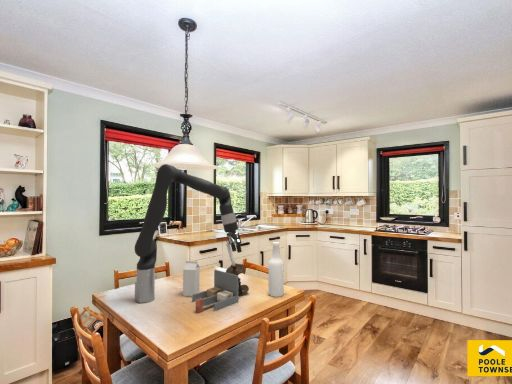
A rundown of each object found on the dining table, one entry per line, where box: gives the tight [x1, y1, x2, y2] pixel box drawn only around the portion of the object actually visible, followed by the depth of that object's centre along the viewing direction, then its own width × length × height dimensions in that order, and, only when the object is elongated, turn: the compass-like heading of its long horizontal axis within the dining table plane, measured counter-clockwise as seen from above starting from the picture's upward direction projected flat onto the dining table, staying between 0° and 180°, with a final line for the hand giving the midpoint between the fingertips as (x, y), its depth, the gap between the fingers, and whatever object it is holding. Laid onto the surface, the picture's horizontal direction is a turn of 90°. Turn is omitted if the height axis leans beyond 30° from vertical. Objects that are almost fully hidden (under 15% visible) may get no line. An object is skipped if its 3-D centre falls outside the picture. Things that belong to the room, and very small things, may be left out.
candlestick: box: [224, 236, 250, 297], centre depth 158 cm, size 11×11×35 cm
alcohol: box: [267, 241, 285, 298], centre depth 161 cm, size 9×9×30 cm
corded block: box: [195, 290, 233, 314], centre depth 143 cm, size 21×6×6 cm, turn 138°
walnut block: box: [206, 286, 222, 298], centre depth 155 cm, size 6×6×5 cm
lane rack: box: [191, 269, 239, 312], centre depth 149 cm, size 16×19×14 cm
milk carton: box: [182, 260, 201, 297], centre depth 161 cm, size 7×7×19 cm
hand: (237, 251), depth 149 cm, fingers open, 8 cm apart
